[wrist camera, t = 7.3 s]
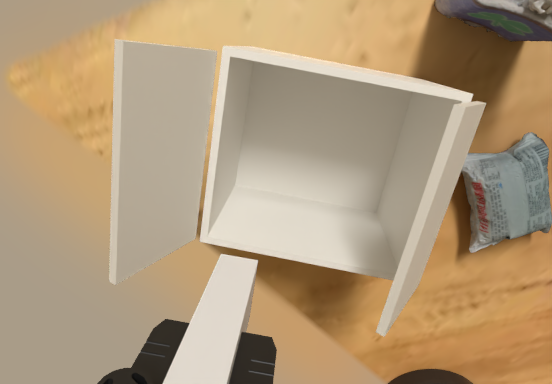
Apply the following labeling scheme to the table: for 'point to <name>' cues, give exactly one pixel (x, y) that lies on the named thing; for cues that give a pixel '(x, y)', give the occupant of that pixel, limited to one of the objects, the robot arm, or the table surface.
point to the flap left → (157, 150)
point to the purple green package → (504, 17)
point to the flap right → (432, 207)
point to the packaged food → (508, 192)
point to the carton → (320, 159)
